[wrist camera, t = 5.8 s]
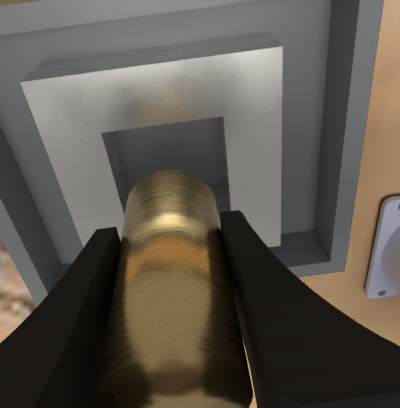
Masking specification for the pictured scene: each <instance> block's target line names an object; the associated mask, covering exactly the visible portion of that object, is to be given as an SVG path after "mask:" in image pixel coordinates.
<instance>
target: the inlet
mask: <svg viewBox="0 0 400 408" xmlns="http://www.w3.org/2000/svg"><path fill="white" fill-rule="evenodd" d="M282 65H283V46H282V45H281V44H280V43H278V42H277V41H276V40H275V39H274V38H273V37H272V36H271V35H270V34H269V33H267V32H262V33H254V34H247V35H240V36H233V37H225V38H218V39H211V40H203V41H196V42H189V43H181V44H174V45H167V46H159V47H152V48H145V49H138V50H130V51H123V52H116V53H108V54H101V55H94V56H86V57H79V58H72V59H64V60H57V61H50V62H42V63H39V64H38V65H37V66H36V67H35V68H34V69H33V70H32V71H31V72H30V73H29V74H28V75H27V76H26V77H25V78H24V79H23V80H22V81H21V82H20V83H21V86H22V88H23V91H24V94H25V96H26V99H27V101H28V104H29V107H30V109H31V112H32V115H33V117H34V120H35V122H36V125H37V128H38V130H39V133H40V136H41V138H42V141H43V143H44V146H45V149H46V151H47V154H48V156H49V159H50V162H51V164H52V167H53V170H54V172H55V175H56V177H57V180H58V183H59V185H60V188H61V190H62V193H63V196H64V198H65V201H66V204H67V206H68V209H69V211H70V214H71V217H72V219H73V222H74V224H75V227H76V230H77V232H78V235H79V238H80V240H81V243H82V245H83V248H84V246H85V245H86V243H87V242H88V240H89V239H90V238H91V236H92V235H93V233H94V232H95V231H96V230H97V229H102V228H109V227H116V228H117V231H118V235H119V238H120V241H121V237H122V231H123V224H124V217H125V210H126V204H127V199H128V196H129V194H130V187H129V183H128V180H127V176H126V172H125V168H124V164H123V160H122V156H121V153H120V149H119V145H118V141H117V137H116V133H115V131H119V130H127V129H134V128H141V127H149V126H156V125H163V124H171V123H178V122H185V121H193V120H200V119H207V118H215V117H218V121H219V132H220V143H221V154H222V165H223V176H224V185H221V186H214V187H210V188H211V190H212V192H213V194H214V197H215V200H216V205H217V211H218V216H219V213H220V212H227V211H234V210H240V211H241V212H242V213H243V215H244V216H245V218H246V219H247V221H248V222H249V224H250V225H251V227H252V228H253V229H254V231H255V232H256V233H257V235H258V236H259V237H260V238H261V240H262V241H263V242H264V243H265V244H266V245H267V246H268V247H274V246H281V157H282ZM219 221H220V216H219ZM220 226H221V225H220Z"/></svg>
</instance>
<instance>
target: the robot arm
mask: <svg viewBox="0 0 400 408" xmlns="http://www.w3.org/2000/svg"><path fill="white" fill-rule="evenodd" d="M399 205H400V196H394V197H389V198H387V199H386V200H385V201H384V202H383V203H382V206H381V211H380V216H379V221H378V226H377V231H376V237H375V242H374V247H373V252H372V257H371V262H370V267H369V272H368V277H367V283H366V288H365V294H366V296H367V297H368V298H370V299H376V298H383V297H391V296H399V297H400V206H399ZM219 216H220V225H221V233H222V238H223V243H224V248H225V253H226V257H227V262H228V267H229V272H230V277H231V282H232V287H233V293H234V298H235V303H236V308H237V313H238V318H239V323H240V328H241V334H242V338H243V341H244V345H245V348H246V352H247V356H248V360H249V365H250V370H251V375H252V381H253V386H254V392H255V397H256V403H257V408H400V346H398V345H396V344H394V343H392V342H390V341H389V340H387V339H385V338H383V337H381V336H379V335H377V334H376V333H374V332H372V331H371V330H369V329H367V328H366V327H364V326H362V325H361V324H359V323H357V322H356V321H354V320H353V319H351V318H350V317H349V316H347V315H346V314H344V313H343V312H341V311H340V310H338V309H337V308H335V307H334V306H333V305H331V304H330V303H328V302H327V301H326V300H324V299H323V298H322V297H320V296H319V295H318V294H317V293H315V292H314V291H313V290H312V289H310V288H309V287H308V286H307V285H306V284H305V283H303V282H302V281H301V280H300V279H299V278H298V277H297V276H296V275H294V274H293V273H292V272H291V271H290V270H289V269H288V268H287V267H286V266H285V265H284V264H283V263H282V262H281V261H280V260H279V259H278V258H277V257H276V256H275V254H274V253H273V252H272V251H271V250H270V249H269V248H268V246H267V245H266V244H265V243H264V242H263V241H262V240H261V238H260V237H259V236H258V235H257V233H256V232H255V231H254V229H253V228H252V227H251V225H250V224H249V222H248V221H247V219H246V218H245V216H244V215H243V213H242V212H241V211H240V210H234V211H227V212H220V213H219ZM120 244H121V241H120V238H119V235H118V231H117V228H116V227H109V228H102V229H97V230H96V231H95V232H94V233H93V235H92V236H91V238H90V239H89V240H88V242H87V243H86V245H85V246H84V248H83V249H82V250H81V252H80V253H79V255H78V256H77V257H76V259H75V260H74V262H73V263H72V264H71V266H70V267H69V268H68V270H67V271H66V272H65V274H64V275H63V276H62V278H61V279H60V280H59V282H58V283H57V284H56V285H55V286H54V288H53V289H52V290H51V291H50V292H49V294H48V295H47V296H46V297H45V299H44V300H43V301H42V302H41V303H40V304H39V306H38V307H37V308H36V309H35V310H34V311H33V312H32V313H31V314H30V315H29V316H28V317H27V318H26V319H25V320H24V321H23V322H22V323H21V324H20V325H19V326H18V327H17V328H16V329H15V330H14V331H13V332H12V333H11V334H10V335H9V336H8V337H7V338H6V339H5V340H3V341H2V342H1V343H0V408H98V406H97V398H98V391H99V385H100V378H101V371H102V364H103V358H104V351H105V344H106V338H107V331H108V324H109V318H110V311H111V304H112V297H113V291H114V284H115V277H116V271H117V264H118V257H119V251H120Z"/></svg>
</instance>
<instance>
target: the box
mask: <svg viewBox="0 0 400 408" xmlns="http://www.w3.org/2000/svg"><path fill="white" fill-rule="evenodd" d="M383 4H384V0H0V238H1V239H2V241H3V243H4V245H5V247H6V249H7V251H8V253H9V254H10V256H11V258H12V260H13V262H14V264H15V266H16V267H17V269H18V271H19V273H20V275H21V277H22V279H23V280H24V282H25V284H26V286H27V288H28V290H29V292H30V293H31V295H32V297H33V299H34V301H35V303H36V305H37V307H38V306H39V304H40V303H41V302H42V301H43V300H44V299H45V297H46V296H47V295H48V294H49V292H50V291H51V290H52V289H53V288H54V286H55V285H56V284H57V283H58V282H59V280H60V279H61V278H62V276H63V275H64V274H65V272H66V271H67V270H68V268H69V267H70V266H71V264H72V263H73V262H74V260H75V259H76V257H77V256H78V255H79V253H80V252H81V250H82V249H83V245H82V243H81V240H80V238H79V235H78V232H77V230H76V227H75V224H74V222H73V219H72V217H71V214H70V211H69V209H68V206H67V204H66V201H65V198H64V196H63V193H62V190H61V188H60V185H59V183H58V180H57V177H56V175H55V172H54V170H53V167H52V164H51V162H50V159H49V156H48V154H47V151H46V149H45V146H44V143H43V141H42V138H41V136H40V133H39V130H38V128H37V125H36V122H35V120H34V117H33V115H32V112H31V109H30V107H29V104H28V101H27V99H26V96H25V94H24V91H23V88H22V86H21V83H20V82H21V81H22V80H23V79H24V78H25V77H26V76H27V75H28V74H29V73H30V72H31V71H32V70H33V69H34V68H35V67H36V66H37V65H38V64H39V63H42V62H50V61H57V60H64V59H72V58H79V57H86V56H94V55H101V54H108V53H116V52H123V51H130V50H138V49H145V48H152V47H159V46H167V45H174V44H181V43H189V42H196V41H203V40H211V39H218V38H225V37H233V36H240V35H247V34H254V33H262V32H267V33H269V34H270V35H271V36H272V37H273V38H274V39H275V40H276V41H277V42H278V43H280V44H281V45H282V46H283V65H282V157H281V246H274V247H268V248H269V249H270V250H271V251H272V252H273V253H274V254H275V256H276V257H277V258H278V259H279V260H280V261H281V262H282V263H283V264H284V265H285V266H286V267H287V268H288V269H289V270H290V271H291V272H292V273H293V274H294V275H296V276H297V277H304V276H311V275H319V274H326V273H334V272H341V271H345V265H346V258H347V251H348V245H349V238H350V231H351V224H352V217H353V210H354V203H355V197H356V190H357V183H358V176H359V169H360V162H361V155H362V148H363V142H364V135H365V128H366V121H367V114H368V107H369V100H370V93H371V87H372V80H373V73H374V66H375V59H376V52H377V45H378V38H379V32H380V25H381V18H382V11H383ZM115 133H116V137H117V141H118V145H119V149H120V153H121V156H122V160H123V164H124V168H125V172H126V176H127V180H128V183H129V187H130V191H131V190H132V188H133V187H134V186H135V185H136V184H137V183H138V182H139V181H140V180H141V179H143V178H144V177H146V176H148V175H150V174H152V173H155V172H159V171H163V170H180V171H185V172H188V173H191V174H193V175H195V176H197V177H199V178H200V179H202V180H203V181H204V182H205V183H206V184H207V185H208V186H209V187H214V186H221V185H224V176H223V165H222V154H221V143H220V132H219V121H218V117H215V118H207V119H200V120H193V121H185V122H178V123H171V124H163V125H156V126H149V127H141V128H134V129H127V130H119V131H115Z"/></svg>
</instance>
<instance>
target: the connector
mask: <svg viewBox="0 0 400 408" xmlns="http://www.w3.org/2000/svg"><path fill="white" fill-rule="evenodd" d="M252 398H253V390H252V385H251V380H250V375H249V369H248V364H247V359H246V354H245V349H244V344H243V339H242V334H241V328H240V323H239V318H238V313H237V308H236V303H235V298H234V293H233V287H232V282H231V277H230V272H229V267H228V262H227V257H226V253H225V248H224V243H223V238H222V233H221V226H220V221H219V216H218V211H217V205H216V200H215V197H214V194H213V192H212V190H211V188H210V187H209V186H208V185H207V184H206V183H205V182H204V181H203V180H202V179H200V178H199V177H197V176H195V175H193V174H191V173H188V172H185V171H180V170H163V171H159V172H155V173H152V174H150V175H148V176H146V177H144V178H143V179H141V180H140V181H139V182H138V183H137V184H136V185H135V186H134V187H133V188H132V190H131V191H130V194H129V196H128V199H127V204H126V210H125V217H124V224H123V231H122V237H121V244H120V251H119V257H118V264H117V271H116V277H115V284H114V291H113V297H112V304H111V311H110V318H109V324H108V331H107V338H106V344H105V351H104V358H103V364H102V371H101V378H100V385H99V391H98V398H97V406H98V408H249V406H250V404H251V401H252Z"/></svg>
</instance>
